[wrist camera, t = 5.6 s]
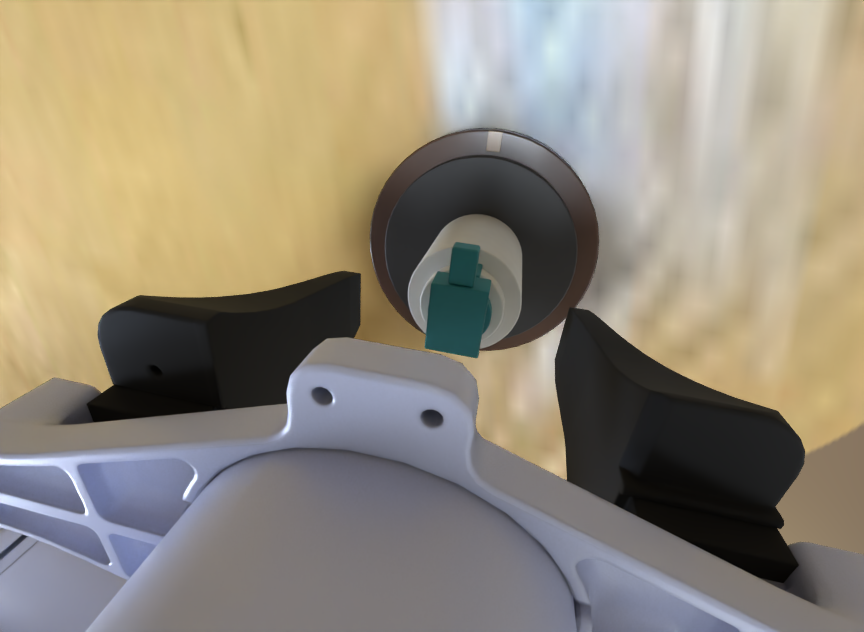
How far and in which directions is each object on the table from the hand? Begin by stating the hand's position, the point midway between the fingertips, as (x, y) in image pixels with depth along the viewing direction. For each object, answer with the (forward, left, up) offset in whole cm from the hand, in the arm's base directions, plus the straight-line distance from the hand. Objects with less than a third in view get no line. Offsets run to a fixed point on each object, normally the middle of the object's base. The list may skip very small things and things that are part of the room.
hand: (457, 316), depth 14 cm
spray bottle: (0, 0, -6) cm, 6 cm away
